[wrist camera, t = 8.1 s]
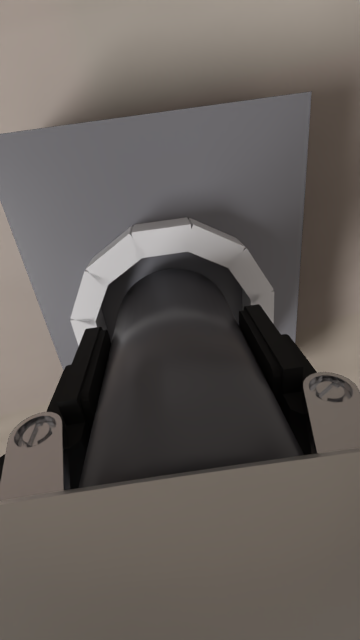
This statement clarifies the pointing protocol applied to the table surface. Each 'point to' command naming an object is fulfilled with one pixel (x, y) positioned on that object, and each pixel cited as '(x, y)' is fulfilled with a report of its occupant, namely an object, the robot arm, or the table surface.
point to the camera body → (160, 208)
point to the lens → (181, 388)
